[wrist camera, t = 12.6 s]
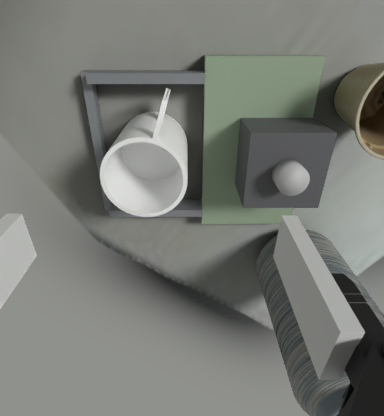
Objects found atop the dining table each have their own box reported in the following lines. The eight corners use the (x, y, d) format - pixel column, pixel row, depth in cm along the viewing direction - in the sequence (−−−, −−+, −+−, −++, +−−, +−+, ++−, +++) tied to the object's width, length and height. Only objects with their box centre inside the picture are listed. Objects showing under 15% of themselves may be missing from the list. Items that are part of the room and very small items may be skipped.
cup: (206, 91, 32) (213, 111, 24) (176, 183, 38) (174, 225, 29) (135, 67, 31) (115, 78, 22) (115, 165, 37) (93, 205, 28)
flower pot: (320, 144, 36) (356, 171, 28) (315, 63, 31) (356, 70, 24) (400, 122, 34) (459, 145, 27) (406, 34, 30) (480, 33, 22)
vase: (237, 257, 45) (277, 429, 25) (293, 206, 40) (397, 368, 20) (287, 289, 48) (356, 462, 29) (343, 246, 44) (473, 416, 24)
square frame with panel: (81, 54, 30) (36, 60, 21) (315, 55, 31) (370, 61, 21) (109, 214, 40) (86, 265, 31) (284, 213, 41) (312, 263, 32)
